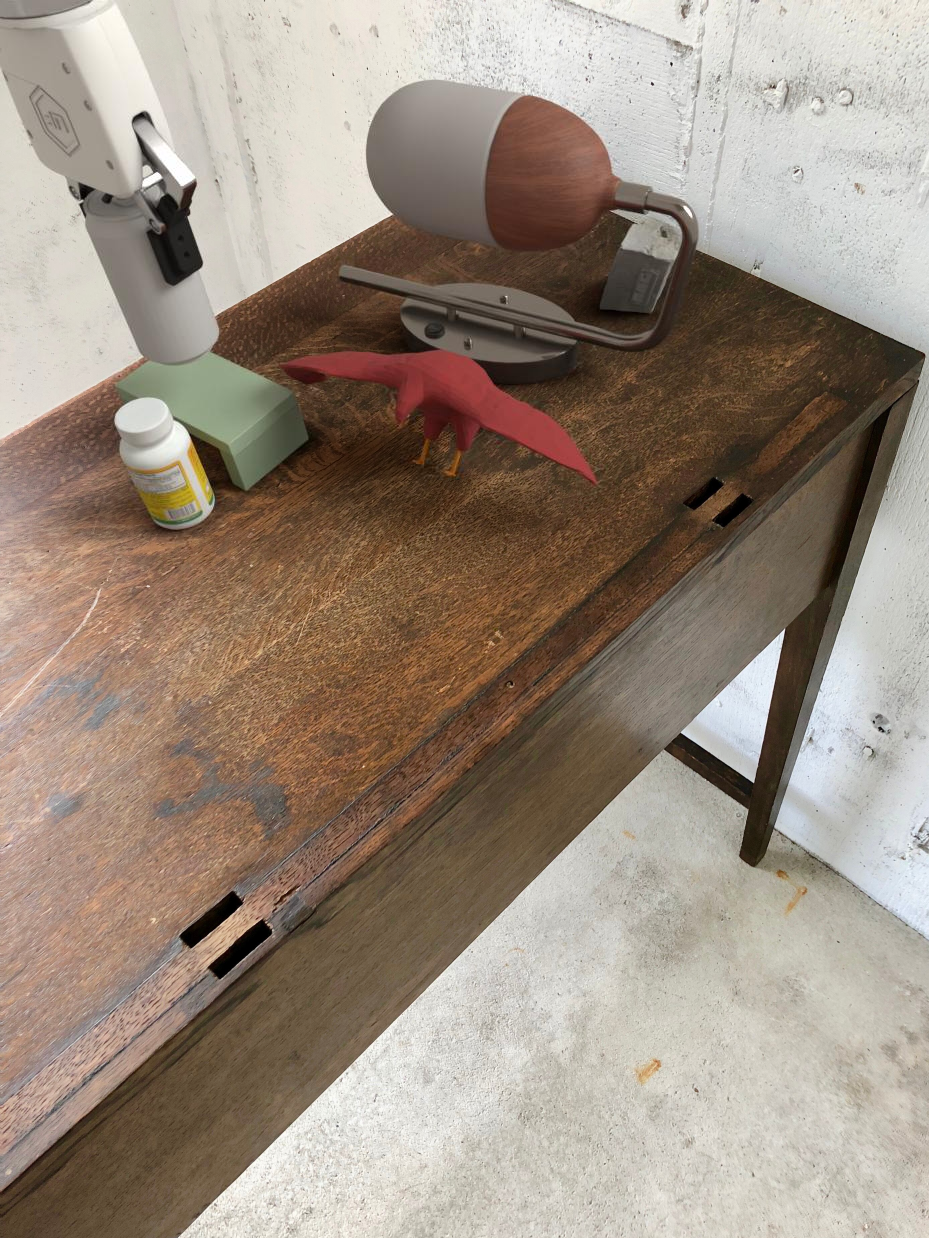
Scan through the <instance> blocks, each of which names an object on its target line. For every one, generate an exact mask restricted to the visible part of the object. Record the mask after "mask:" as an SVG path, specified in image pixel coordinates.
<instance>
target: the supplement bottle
mask: <svg viewBox="0 0 929 1238" xmlns="http://www.w3.org/2000/svg"><path fill="white" fill-rule="evenodd" d="M113 422H114V426H115V428H116V431H117V432H118V434H119V436H120V438H121V439H120V442H119V455H120V458H121V461H122V462H123V464H124V466H125V468H126V470H127V473H128V474H129V476H130V478H131V480H132V482H133V484H134V486H135V488H136V490H137V492H138V493H139V495H140V497H141V500H142V502H143V503H144V506H145V508H146V509H147V511H148V513H149V515H150V517H151V519H152V520H153V522H154V523H156V524H157V525H158V526H160V527H162V528H164V529H168V530H174V531H175V530H177V531H178V530H185V529H189V528H192V527H194V526H197V525H198V524H200V523H202V522H203V521H204V520H205V519H207V518H208V517H209V516H210V514H211V513H212V512H213V509H214V508H215V502H216V500H215V499H216V497H215V494H214V491H213V488H212V486H211V484H210V481H209V478H208V476H207V474H206V471H205V469H204V467H203V465H202V462H201V459H200V457H199V455H198V453H197V449H196V448H195V445H194V442H193V441H192V438H191V436H190V433H188V432H187V430H186V428H185V427H184V426H183V425H181V424H180V423H179V422H177V421H175V420H173V417H172V415H171V413H170V411H169V409H168V407H167V405H166V404H165V403H164V402H163V401H162V400H159V399H156V398H139V399H136V400H133V401H130V402H129V403H127V404H125V405H124V404H123V405H122V406H121V407H120V408H119V409H118V410H117V411H116V412H115V415H114V420H113Z"/></svg>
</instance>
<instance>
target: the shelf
mask: <svg viewBox="0 0 929 1238" xmlns="http://www.w3.org/2000/svg"><path fill="white" fill-rule="evenodd" d="M113 386H114V388H115V390H116V392H117V395H118V396H119V398H120V401H121V403H122V405H123V406H124V405H125V404H127V403H129V402H130V401H133V400H136V399H139V398H156V399H159V400H162V401H163V402H164V403H165V404H166V405H167V407H168V409H169V411H170V413H171V415H172V417H173V420H175V421H177V422H179V423H180V424H181V425H183V426H184V427H185V428H186V430H187V432H188V433H189V435H191V436H194V437H196V438H198V439H199V440H202V441H203V442H205V443H207V444H209V445H211V446H213V447H215V448H216V449H219V453H220V455H221V457H222V460H223V462H224V464H225V468H226V471H227V472H228V474H229V477H230V480H231V482H232V484H233V485H234V486H236V487H238V488H240V489H242V490H244V491H245V492H247V491H248V490H250V489H251V488H252V487H253V486H254V485H256V484H257V483H258V482H260V481H261V479H263V478H264V477H265V476H266V475H268V474H269V473H270V472H271V471H272V470H273V469H275V468H276V467H277V466H278V465H279V464H281V463H282V462H283V461H285V460H286V458H288V457H289V456H290V455H291V454H292V453H294V452H295V451H296V450H298V449H299V448H300V447H301V446H302V445H303V444H304V443H306V442H307V441H308V440H309V439H310V438H309V435H308V432H307V428H306V425H305V422H304V418H303V415H302V411H301V407H300V405H299V402H298V399H297V396H296V392H295V391H294V390H292V389H290V388H287V387H285V386H284V385H281V384H279V383H278V382H277V383H276V382H275V381H273V380H271V379H269V378H266V377H265V376H262V375H260V374H258V373H256V372H254V371H252V370H249V369H247V368H246V367H243V366H241V365H239V364H237V363H235V362H232V361H230V360H228V359H226V358H224V357H222V356H220V355H218V354H216V353H213V352H211V351H210V352H209V353H208V354H207V355H205V356H204V357H203V358H201V359H199V360H197V361H195V362H192V363H189V364H185V365H178V366H169V365H163V364H160V363H156V362H153V361H150V360H147V361H146V362H144V363H143V364H142V365H140V366H139V367H138V368H135V369H134V370H133V371H131V372H130V373H129V374H127V375H126V376H125V377H123V378H122V379H120V380H119V381H118V382H116V383H114V385H113Z"/></svg>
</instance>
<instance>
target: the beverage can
mask: <svg viewBox="0 0 929 1238" xmlns="http://www.w3.org/2000/svg"><path fill="white" fill-rule="evenodd" d="M144 177H145V176H143V178H144ZM146 192H147V194H148V195H149V197H150V199H151V200H152V202H153V204H154V205H155V207H156V208H157V206H158V203H159V201H160V198H161V197H162V196H164V193H163V192H162V190H161V188H160V187H159V185H158V183H157V184H156V185H154V186H152V187H151V188H149V189H147V190H146ZM82 202H83V201H82ZM104 202H107V204H106V203H104ZM83 208H84V211H85V213H86V214H87V215H86V220H85V219H84V220H85V221H84V227H85V229H86V232H87V234H88V237H89V238H90V241H91V243H92V245H93V248H94V250H95V253H96V255H97V258H98V259H99V262H100V264H101V266H102V269H103V272H104V273H105V275H106V278H107V280H108V282H109V285H110V287H111V289H112V292H113V294H114V296H115V299H116V301H117V304H118V305H119V309H120V310H121V313H122V315H123V317H124V320H125V322H126V324H127V326H128V329H129V331H130V333H131V336H132V338H133V341H134V342H135V345H136V347H137V350H138V352H139V353H140V355H141V356H142V357H143V358H144V359H146V360H147V361H149V360H150V361H153V362H156V363H160V364H163V365H169V366H178V365H185V364H189V363H192V362H195V361H197V360H199V359H201V358H203V357H204V356H205V355H207V354H208V353H209V352H211V351H212V349H213V347H214V346H215V344H216V343H217V342H218V338H219V336H220V328H219V325H218V321H217V319H216V316H215V312H214V311H213V308H212V304H211V302H210V299H209V296H208V293H207V290H206V287H205V284H204V281H203V279H202V276H201V273H200V269H199V270H198V271H196V272H195V273H193V274H192V275H190V276H189V277H187V278H186V279H184V280H183V281H181V282H180V283H178V284H177V285H175V286H172V285H170V284H168V283H166V282H165V279H164V277H163V274H162V272H161V269H160V267H159V264H158V261H157V259H156V256H155V254H154V251H153V249H152V246H151V244H150V241H149V239H148V236H147V233H146V232H147V231H149V230H151V227H150V226H149V224H148V222H147V221H146V219H145V218H144V216H143V214H142V213H141V211H140V210H139V208H138V206H137V205H136V203H135V201H134V200H133V198H132V197H130V198H126V199H125V198H119V197H116V196H113V195H110V194H108V193H105V192H102V191H100V190H97V189H95V190H94V191H92V192H91V193H90V194H89V195H88V196H87V197H86V198H85V200H84V202H83Z"/></svg>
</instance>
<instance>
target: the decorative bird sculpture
mask: <svg viewBox="0 0 929 1238" xmlns="http://www.w3.org/2000/svg"><path fill="white" fill-rule="evenodd" d="M278 367H279V368H280V369H281V370H282V371H284V373H285V374H286V376H289V377H290V378H291V379H293V380H295V381H297V382H299V383H301V384H303V385H306V386H307V385H313V384H316V383H323V382H327V381H329V378H328V377H334V378H340V379H344V380H349V381H364V382H368V383H372V384H373V383H374V384H380V385H385V386H387V387H390V388H392V389H394V390H395V391H397V392H398V393H397V399H396V404H395V407H394V417H395V421H396V422H397V424H398V426H399V427H402V425H403V424H404V422H405V421H406V419H407V417H409V415H410V414H411V413H412V412H413V411H414V410H416V409H417V410H419V411H421V412H423V423H422V433H423V436H424V438H425V441H424V444H423V448H422V451H421V455H420V457H419V459H412V460H411V461H410V463H412V462H413V463H414V465H422V467H423V468H424V469H426V463H425V459H426V457H427V453H428V449H429V446H430V443H431V442H435V441H437V440H438V439H439V438H440V436H441V435H442V432H443V431H444V430H445V427H446V426H447V425H449V424H450V425H451V427H452V428H453V429H454V432H455V433H456V438H455V446H456V452H455V455H454V460H453V461H452V465H451V468H450V471H446V470H443V471H442V472H441V473H440V474H445V476H446V477H448V476H452V477H453V478H454V479H455V480H457V475H456V470H457V468H458V465H459V464H458V463H459V460H460V458H461V455H462V453H464V452H466V451H468V450H469V449H470V448H471V446H472V445H473V442H474V439H475V437H476V435H477V433H478V431H479V429H480V428H482V429H484V430H485V431H489V432H492V433H495V434H497V435H500V436H502V437H504V438H506V439H509V440H511V441H513V442H514V443H516V444H518V445H520V446H521V447H523V448H525V449H527V450H529V451H531V452H534V453H536V454H539V455H541V456H543V457H544V458H546V459H548V460H549V461H551V462H554V463H556V464H557V465H560V466H561V467H565V468H567V469H569V470H571V471H573V472H574V473H577V474H579V475H581V477H583V478H585V479H586V481H588V482H589V483H591V484H592V485H594V486H595V487H598V486H599V484H598V481H597V478H596V476H595V475H594V472H593V471H592V469H591V467H590V465H589V463H588V461H587V460H586V459H585V457H584V456H583V454H582V453H581V451H580V450H579V448H578V447H577V446H576V443H575V442H574V440H573V439H572V438H571V437H570V436H569V434H568V432H567V431H566V430H565V429H564V428H563V427H562V426H561V425H560V423H558V422H556V421H555V419H553V418H552V417H551V416H550V415H548V414H546V413H545V412H543V411H541V410H539V409H538V408H534V407H532V406H531V405H530V404H529V403H527V402H525V401H521V400H519V399H516V398H514V397H512V396H511V395H510V394H509V393H507V392H505V391H503V390H501V389H499V388H498V386H496V385H495V383H493V382H492V381H491V379H490V378H489V377H488V375H487V373H486V372H485V370H484V369H483V368H482V367H481V366H479V365H478V364H477V363H476V362H475V361H474V360H472V359H471V358H470V357H468V356H462V355H460V354H457V353H455V352H451V351H446V350H433V351H427V352H421V353H414V352H405V353H397V354H396V353H392V354H382V353H375V352H371V351H363V352H362V351H351V350H344V351H336V352H329V353H328V352H327V353H321V354H318V355H307V356H306V355H305V356H302V357H298V358H294V359H292V360H289V361H287V362H285V363H281V364H279V365H278Z"/></svg>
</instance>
